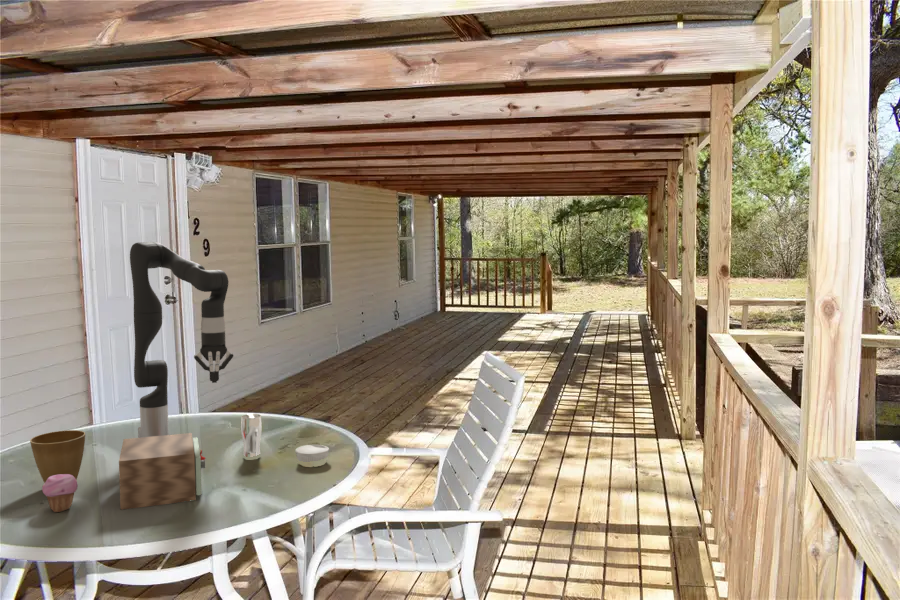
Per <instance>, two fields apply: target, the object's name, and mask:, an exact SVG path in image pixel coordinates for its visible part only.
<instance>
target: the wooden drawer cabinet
mask: <svg viewBox="0 0 900 600" xmlns="http://www.w3.org/2000/svg"><path fill="white" fill-rule="evenodd" d="M119 453H120V455H119V459H118V472H119V473H118V474H119V503H120V510H121V511H122V510H129V509H139V508H146V507H152V506H161V505H169V504H179V503H185V502H184V501H187V502H191V501H190V500H195V501H197V498H196V496H197V495H196V493H195V456H194V447H193V433H192V432H188V433H186V432H185V433H176V434H175V433H174V434H169V435H163V436H152V437H141V438H138V437H133V438H131V437H130V438H123V439H122V446H121V450H120V452H119ZM178 502H179V503H178Z"/></svg>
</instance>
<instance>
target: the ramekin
mask: <svg viewBox="0 0 900 600" xmlns="http://www.w3.org/2000/svg"><path fill="white" fill-rule="evenodd" d="M294 451H295V455H296V460H297V459H298V460H299V461H303V462H310V461H318V460H321V459H324V458H326V457H327V456H329V452H330V448H329V446H326V445H322V444H306V445H305V444H304V445H301V446H298V447H297V448H296V449H295V450H294ZM327 458H328V457H327Z"/></svg>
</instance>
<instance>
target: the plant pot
mask: <svg viewBox="0 0 900 600" xmlns="http://www.w3.org/2000/svg"><path fill="white" fill-rule="evenodd" d="M29 443H30V447H31V451H32V454H33V458H34V460H35V465H36V467H37V470H38V472H39V474H40V477H41V479H42V481H43V484H44V483H45V482H46V480H47V479H48V478H49V477H50V476H53V475H58V474H70V475H73V476H74V478H75V479H76V480H78V476H79V473H80V470H81V467H82V466H81V465H82V462H83V456H84V451H85V443H86V432H85V431H83V430H77V429H76V430H75V429H69V430H68V429H67V430H58V431H57V430H56V431H51V432H46V433H42V434H41V433H40V434H38V435H36V436H33V437H32V438H30V440H29Z"/></svg>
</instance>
